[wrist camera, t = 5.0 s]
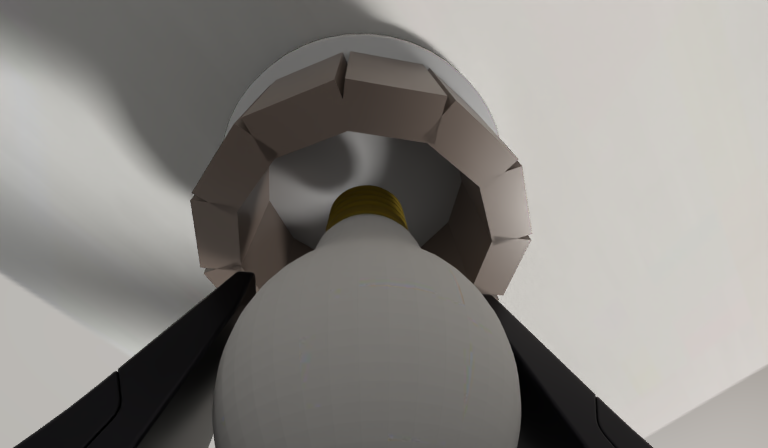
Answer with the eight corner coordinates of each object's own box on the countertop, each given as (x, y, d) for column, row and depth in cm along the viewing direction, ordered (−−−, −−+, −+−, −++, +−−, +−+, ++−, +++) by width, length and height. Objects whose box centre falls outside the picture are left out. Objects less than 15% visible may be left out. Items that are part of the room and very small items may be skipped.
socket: (453, 287, 18) (478, 369, 15) (236, 267, 17) (198, 352, 13) (540, 65, 12) (623, 102, 9) (215, 2, 11) (133, 12, 7)
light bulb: (260, 226, 13) (95, 614, 5) (336, 92, 11) (250, 447, 3) (387, 284, 15) (416, 628, 7) (478, 183, 13) (685, 543, 5)
